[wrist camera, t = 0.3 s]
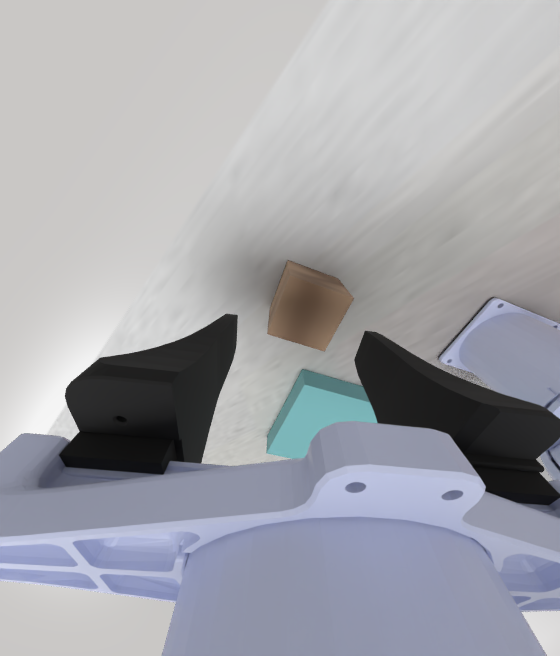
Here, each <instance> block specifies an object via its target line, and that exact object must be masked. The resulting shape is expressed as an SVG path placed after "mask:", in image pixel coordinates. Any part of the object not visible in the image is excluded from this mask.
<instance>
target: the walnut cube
mask: <svg viewBox="0 0 560 656" xmlns="http://www.w3.org/2000/svg"><path fill="white" fill-rule="evenodd" d="M353 299H354V298H353V297H352V295H351V294H350V293H349V292H348V290H347V289H346V288H345V287H344V285H343V284H342V283H341V282H340V280H339V279H338V278H335V277H332V276H329V275H327V274H324V273H321V272H319V271H316V270H313V269H311V268H308V267H305V266H302V265H300V264H297V263H294V262H292V261H289V260H288V261H287V263H286V266H285V269H284V271H283V274H282V277H281V280H280V282H279V285H278V288H277V291H276V293H275V296H274V299H273V301H272V304H271V307H270V312H269V322H268V333H267V334H269V335H272V336H276V337H279V338H282V339H285V340H289V341H292V342H295V343H298V344H302V345H305V346H308V347H311V348H315V349H318V350H321V351H325V350H326V348H327V346H328V344H329V342H330V341H331V339H332V337H333V335H334V333H335V332H336V330H337V328H338V326H339V324H340V323H341V321H342V319H343V317H344V315H345V314H346V312H347V310H348V308H349V306H350V305H351V303H352V301H353Z"/></svg>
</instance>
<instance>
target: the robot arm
mask: <svg viewBox="0 0 560 656" xmlns="http://www.w3.org/2000/svg"><path fill="white" fill-rule="evenodd" d="M498 305H499V306H498ZM237 318H238V315H232V314H225V315H224V316H222V317H220V318H219V319H217V320H216V321H214V322H213V323H211V324H209V325H208V326H206V327H204V328H203V329H201V330H199V331H197V332H195V333H193V334H191V335H189V336H187V337H185V338H182V339H180V340H177V341H175V342H172V343H168V344H165V345H162V346H159V347H156V348H152V349H148V350H144V351H139V352H134V353H129V354H123V355H116V356H110V357H102V358H99V359H98V360H97V361H96V362H95V363H93V364H92V365H91V366H90V367H89V368H87V369H86V370H85V371H84V372H83V373H81V374H80V375H79V376H78V377H77V378H75V379H74V380H73V381H72V382H71V383H70V384H69V385H68V387H67V388H66V393H65V399H66V402H67V405H68V408H69V410H70V412H71V414H72V416H73V418H74V420H75V422H76V424H77V427H78V429H79V431H80V432H79V433H78V434H77V435H76V436H75V437H74V438H73V440H72V441H70V440H68V439H66V438H64V437H60V436H53V435H41V434H30V433H24V434H21V435H19V436H18V437H17V438H16V439H15V440H14V441H13V442H11V443H10V444H9V445H8V446H7V447H6V448H5V449H3V450H2V451H1V452H0V581H8V582H18V583H29V584H40V585H48V586H56V587H64V588H72V589H80V590H87V591H94V592H102V593H109V594H116V595H124V596H131V597H139V598H146V599H153V600H160V601H168V602H175V603H176V604H175V608H174V612H173V615H172V619H171V623H170V627H169V630H168V634H167V638H166V641H165V645H164V649H163V652H162V656H547V655H546V653H545V652H544V650H543V648H542V646H541V645H540V643H539V642H538V640H537V638H536V636H535V635H534V633H533V631H532V630H531V628H530V626H529V624H528V623H527V621H526V619H525V618H524V616H523V614H522V613H521V612H530V611H560V324H559V323H557V322H555V321H552V320H550V319H547V318H545V317H542V316H540V315H537V314H535V313H533V312H530V311H528V310H525V309H523V308H520V307H518V306H515V305H513V304H511V303H508V302H506V301H503V300H501V299H498V298H493V299H491V300H490V301H489V302H488V303H487V304H486V305H485V306H484V308H483V309H482V310H481V311H480V312H479V313H478V314H477V316H476V317H475V318H474V319H473V320H472V321H471V322H470V323H469V325H468V326H467V327H466V328H465V329H464V330H463V331H462V332H461V334H460V335H459V336H458V337H457V338H456V339H455V340H454V342H453V343H452V344H451V345H450V346H449V347H448V348H447V349H446V351H445V352H444V353H443V354H442V355H441V356H440V358H439V360H440V362H442V363H444V364H447V365H450V366H453V367H456V368H459V369H462V370H465V371H468V372H471V373H474V374H475V375H476V376H477V377H478V378H479V379H480V380H482V381H483V382H484V383H485V384H486V385H487V386H489V387H490V388H491V389H492V390H490V389H487V388H484V387H481V386H479V385H476V384H473V383H471V382H468V381H466V380H464V379H461V378H459V377H456V376H454V375H452V374H450V373H447V372H445V371H443V370H441V369H439V368H437V367H435V366H433V365H431V364H429V363H427V362H426V361H424V360H422V359H420V358H419V357H417V356H415V355H413V354H412V353H410V352H408V351H407V350H405V349H404V348H402V347H400V346H399V345H397V344H396V343H394V342H392V341H391V340H389V339H388V338H386V337H384V336H383V335H381V334H379V333H377V332H371V331H365V332H364V335H363V338H362V341H361V343H360V346H359V349H358V351H357V354H356V357H355V359H354V360H355V365H356V369H357V372H358V376H359V378H360V380H361V383H362V385H363V387H364V390H365V392H366V394H367V397H368V399H369V401H370V404H371V406H372V408H373V411H374V413H375V416H376V419H377V423H369V422H358V421H346V422H335V423H333V424H331V425H329V426H327V427H324V428H322V429H321V430H319V431H318V433H317V434H316V435H315V437H314V438H313V439H312V440H311V442H310V445H309V448H308V451H307V454H306V456H305V457H304V458H297V459H289V460H281V461H272V462H264V463H256V464H247V465H239V466H224V465H212V464H201V462H202V457H203V453H204V449H205V445H206V441H207V437H208V433H209V429H210V426H211V422H212V418H213V414H214V411H215V407H216V404H217V400H218V397H219V394H220V391H221V389H222V386H223V384H224V381H225V379H226V376H227V374H228V372H229V369H230V366H231V364H232V361H233V358H234V354H235V350H236V341H237ZM539 456H541V460H542V462H543V464H544V466H545V468H546V470H547V472H548V474H549V475H550V477H551V478H552V479H553V481H549V482H548V481H547V480H546V479H545V478H544V477H543V476H542V475H541V474H540V473H539V472H543V471H544V467H543V466H542V465H541V464H540V463H539V462H538V461H537V460H536V458H538V457H539Z"/></svg>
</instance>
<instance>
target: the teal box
mask: <svg viewBox="0 0 560 656" xmlns="http://www.w3.org/2000/svg"><path fill="white" fill-rule="evenodd" d="M346 421H358V422H369V423H377V419H376V416H375V413H374V411H373V408H372V406H371V404H370V401H369V399H368V397H367V394H366V392H365V390H364V387H363V386H359V385H356V384H352V383H349V382H345V381H342V380H338V379H335V378H332V377H328V376H325V375H321V374H318V373H314V372H311V371H307V370H304V369H302V371H301V373H300V375H299V377H298V379H297V381H296V382H295V384H294V386H293V388H292V390H291V392H290V394H289V396H288V398H287V400H286V402H285V403H284V405H283V407H282V409H281V411H280V413H279V415H278V417H277V419H276V421H275V422H274V424H273V426H272V428H271V430H270V432H269V434H268V436H267V453H268V454H273V455H277V456H282V457H287V458H291V459H297V458H304V457H305V456H306V454H307V451H308V448H309V445H310V442H311V440H312V439H313V438H314V437H315V435H316V434H317V433H318V431H319V430H321V429H322V428H324V427H327V426H329V425H331V424H333V423H335V422H346Z"/></svg>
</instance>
